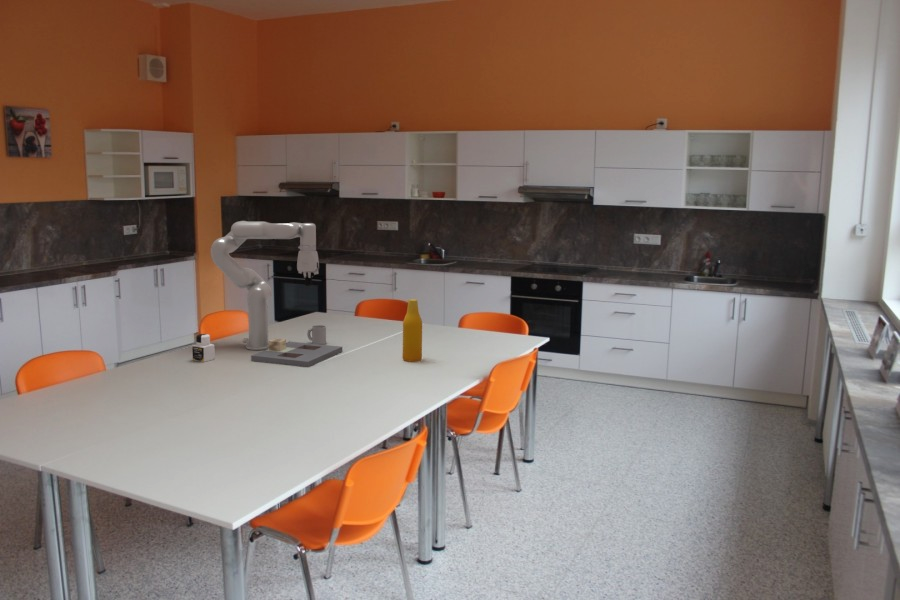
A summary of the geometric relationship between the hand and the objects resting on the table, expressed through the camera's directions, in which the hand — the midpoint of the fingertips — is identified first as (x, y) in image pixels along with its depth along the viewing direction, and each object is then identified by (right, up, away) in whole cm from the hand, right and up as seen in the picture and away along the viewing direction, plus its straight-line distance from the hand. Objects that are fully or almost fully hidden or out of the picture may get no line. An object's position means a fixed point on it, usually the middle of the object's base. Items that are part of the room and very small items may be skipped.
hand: (308, 285), depth 381 cm
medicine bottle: (-45, -35, -22) cm, 61 cm away
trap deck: (-3, -34, -11) cm, 36 cm away
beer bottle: (+52, -36, -14) cm, 65 cm away
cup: (+1, -30, +18) cm, 35 cm away
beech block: (-13, -31, -9) cm, 35 cm away
